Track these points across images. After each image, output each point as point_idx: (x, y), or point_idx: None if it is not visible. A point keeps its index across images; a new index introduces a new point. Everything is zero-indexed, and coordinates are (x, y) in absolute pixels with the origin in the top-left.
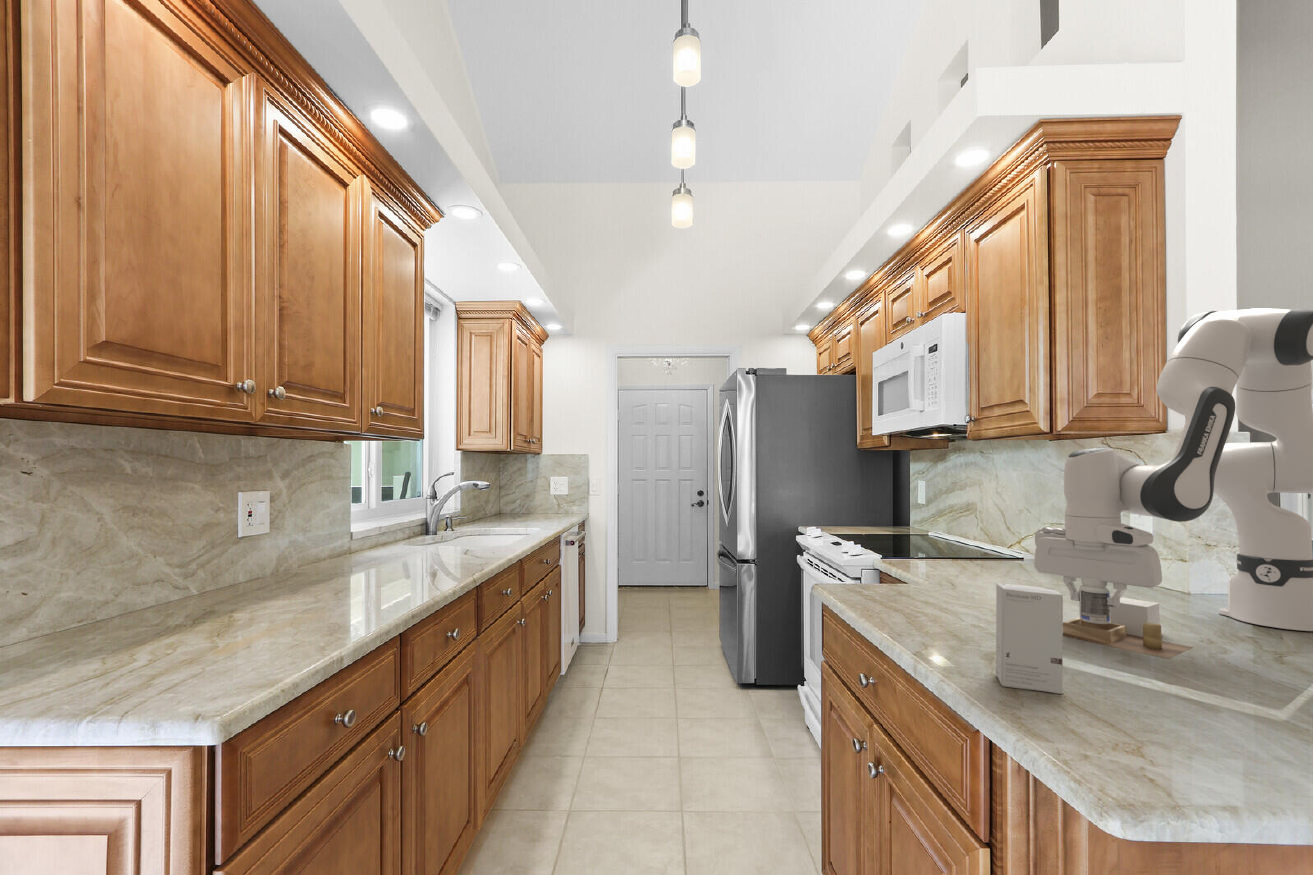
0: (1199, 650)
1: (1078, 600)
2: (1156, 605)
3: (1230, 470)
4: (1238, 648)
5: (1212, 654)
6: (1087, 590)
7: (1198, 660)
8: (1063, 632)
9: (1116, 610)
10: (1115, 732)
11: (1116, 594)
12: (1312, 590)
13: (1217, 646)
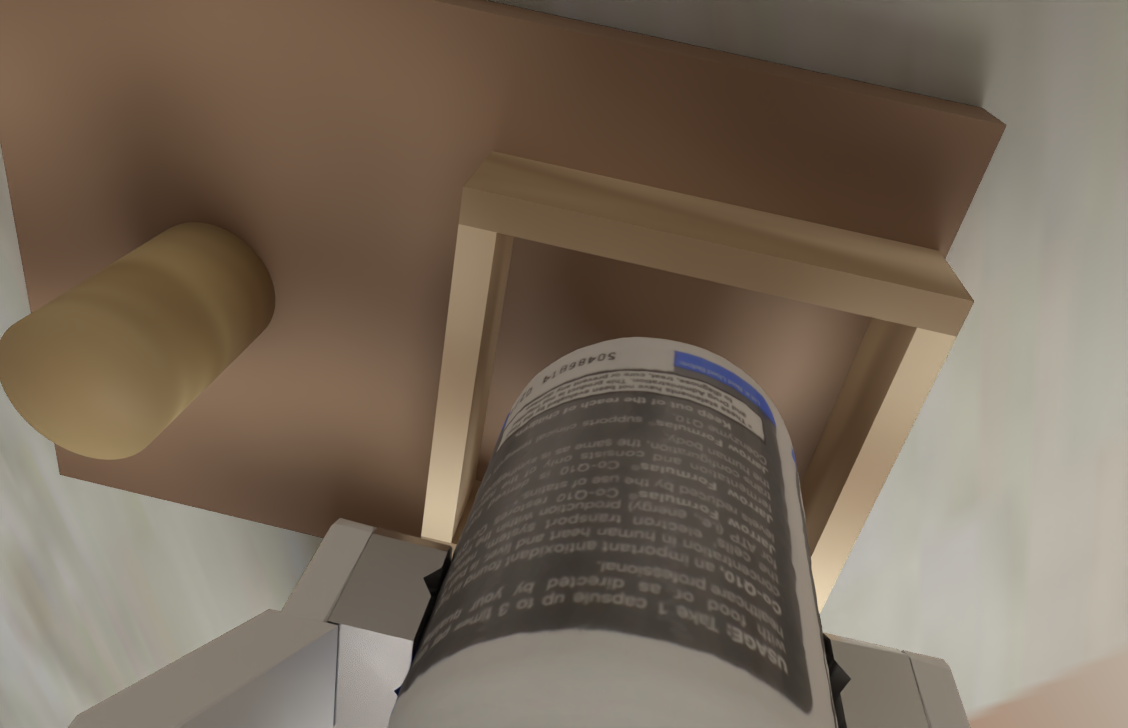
0: (115, 555)
1: (835, 637)
2: None
3: None
4: (36, 703)
5: (37, 509)
6: (686, 671)
7: (2, 296)
8: (934, 254)
9: None
10: None
11: (234, 659)
12: None
13: (104, 688)
